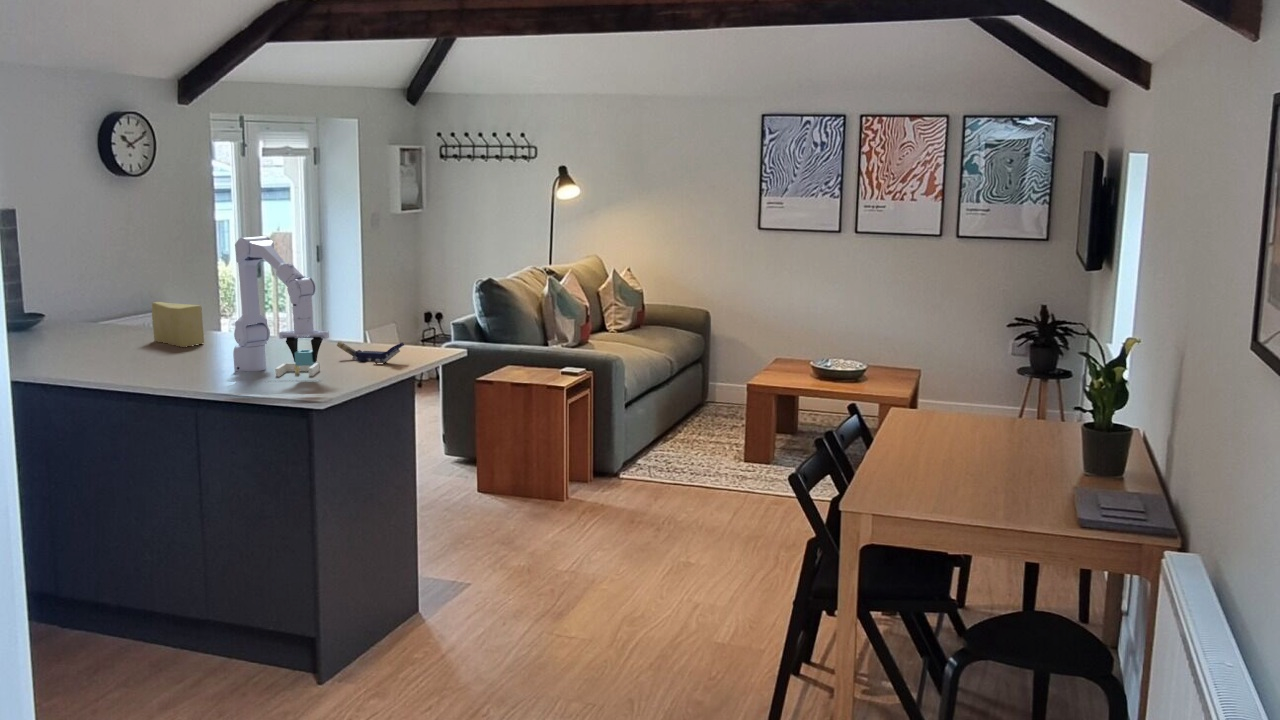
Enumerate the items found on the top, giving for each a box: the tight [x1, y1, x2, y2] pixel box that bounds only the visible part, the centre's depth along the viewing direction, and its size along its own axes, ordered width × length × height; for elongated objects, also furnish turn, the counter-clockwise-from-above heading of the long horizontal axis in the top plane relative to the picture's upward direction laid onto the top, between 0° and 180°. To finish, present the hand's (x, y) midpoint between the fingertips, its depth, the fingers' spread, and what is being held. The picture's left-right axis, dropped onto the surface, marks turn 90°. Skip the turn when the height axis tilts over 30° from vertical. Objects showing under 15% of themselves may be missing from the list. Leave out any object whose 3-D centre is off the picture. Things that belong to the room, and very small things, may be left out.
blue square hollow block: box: [294, 348, 317, 366], centre depth 349 cm, size 5×5×4 cm
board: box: [264, 366, 323, 383], centre depth 360 cm, size 17×28×4 cm, turn 2°
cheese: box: [151, 301, 205, 348], centre depth 418 cm, size 22×10×15 cm, turn 59°
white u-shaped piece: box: [275, 362, 321, 378], centre depth 358 cm, size 11×9×2 cm
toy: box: [336, 340, 405, 364], centre depth 380 cm, size 10×22×10 cm, turn 78°
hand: (305, 361), depth 349 cm, fingers closed on blue square hollow block, 5 cm apart
